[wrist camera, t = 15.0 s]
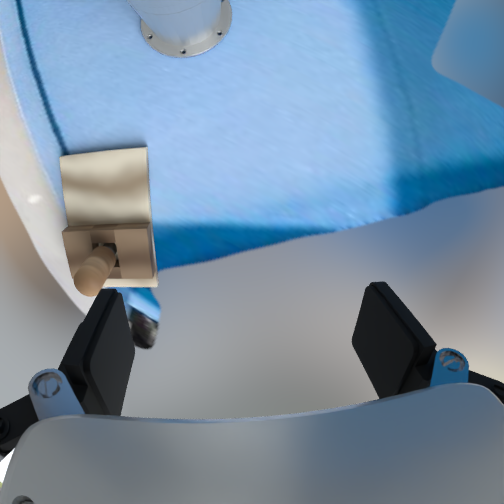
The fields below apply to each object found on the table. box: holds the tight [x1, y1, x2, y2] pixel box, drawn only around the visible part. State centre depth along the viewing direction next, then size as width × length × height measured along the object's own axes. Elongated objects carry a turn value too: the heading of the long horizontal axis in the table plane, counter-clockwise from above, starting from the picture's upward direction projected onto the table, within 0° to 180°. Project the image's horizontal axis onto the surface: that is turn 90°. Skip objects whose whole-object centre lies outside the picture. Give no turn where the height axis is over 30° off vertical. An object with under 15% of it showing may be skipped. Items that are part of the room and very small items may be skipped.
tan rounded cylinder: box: [74, 243, 117, 297], centre depth 39 cm, size 4×4×10 cm
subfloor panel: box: [59, 147, 159, 287], centre depth 42 cm, size 22×14×4 cm, turn 178°
